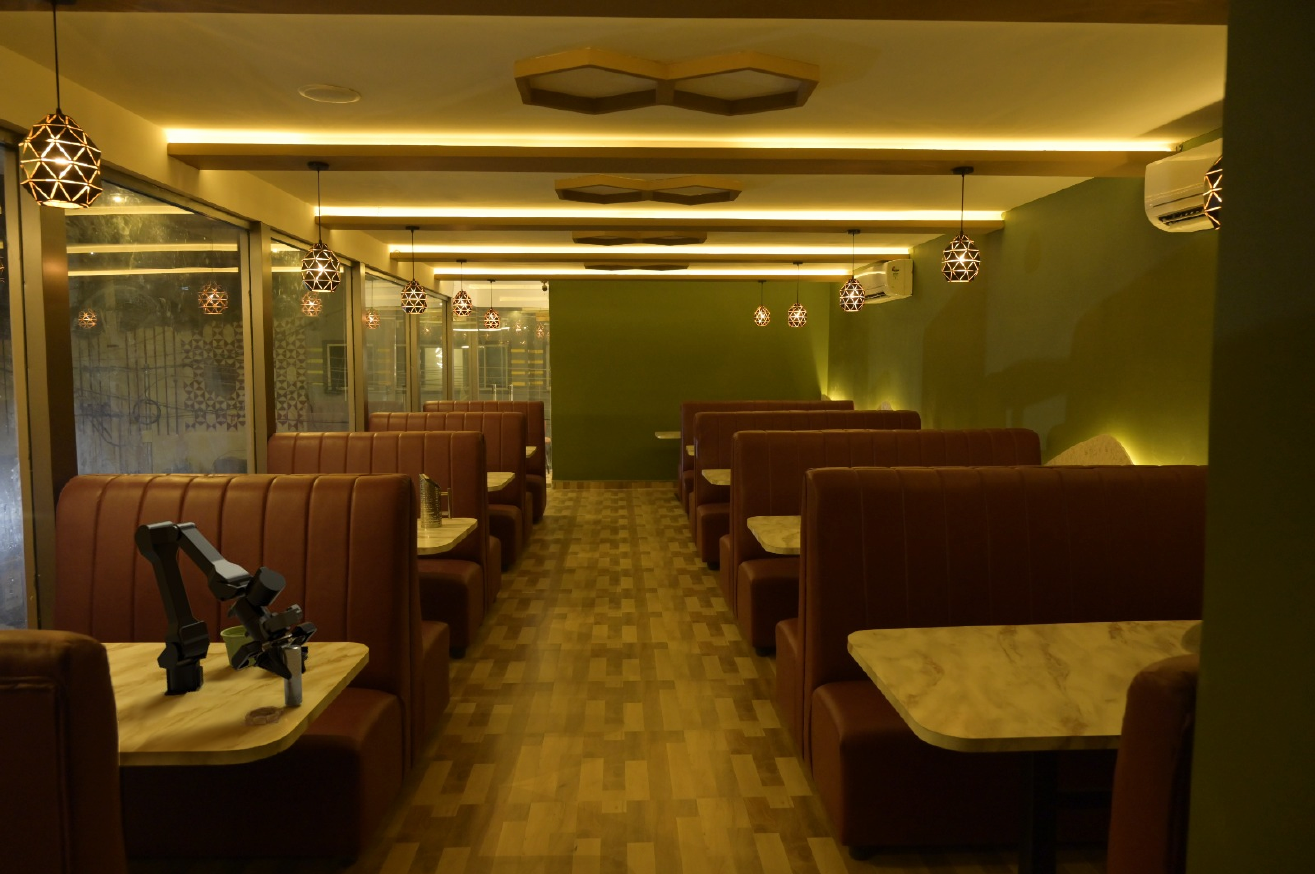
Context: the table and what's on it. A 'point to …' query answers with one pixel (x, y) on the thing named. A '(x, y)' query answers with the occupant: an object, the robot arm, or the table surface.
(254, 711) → the ring stand
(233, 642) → the plant pot
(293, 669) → the peg
